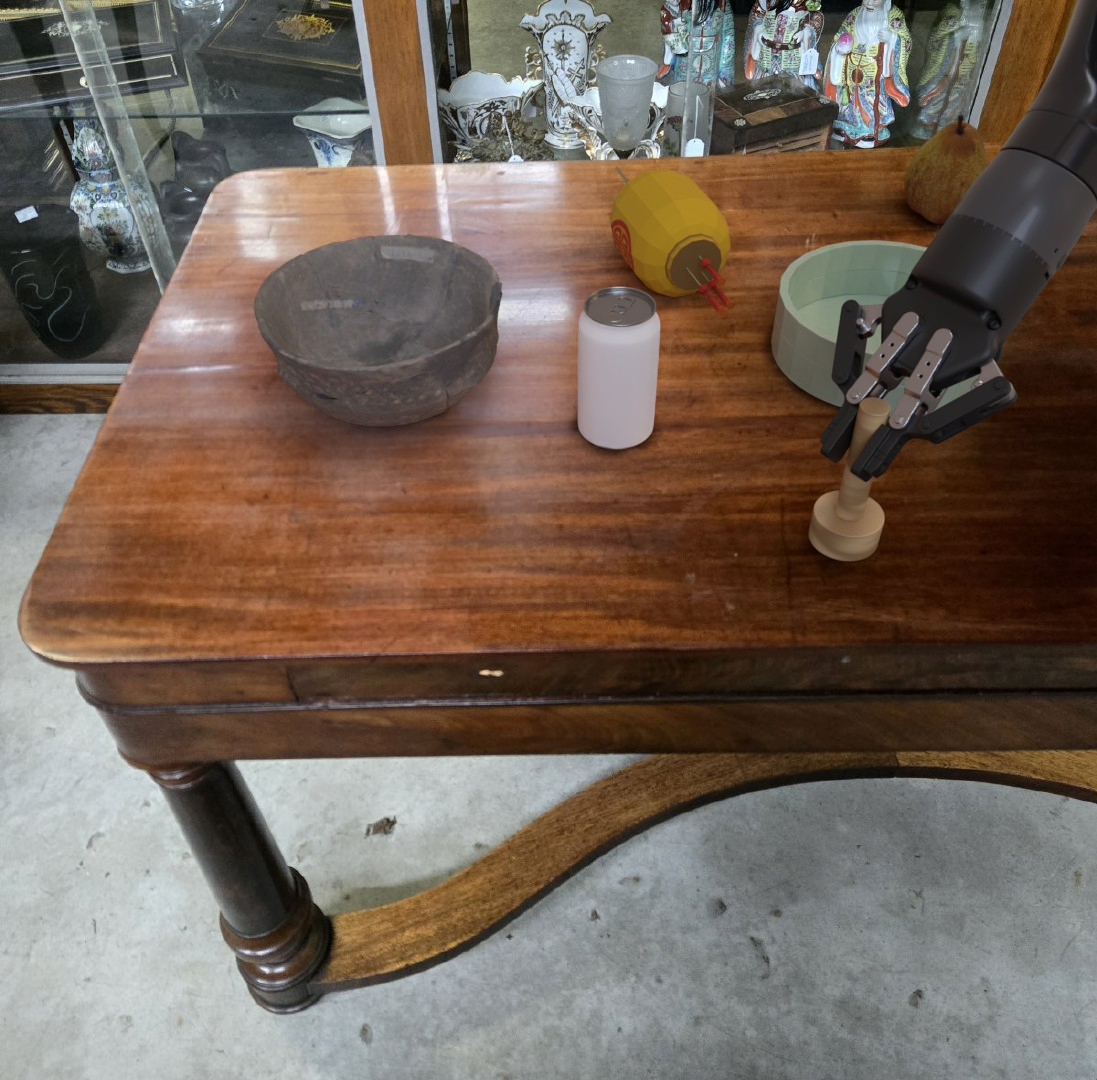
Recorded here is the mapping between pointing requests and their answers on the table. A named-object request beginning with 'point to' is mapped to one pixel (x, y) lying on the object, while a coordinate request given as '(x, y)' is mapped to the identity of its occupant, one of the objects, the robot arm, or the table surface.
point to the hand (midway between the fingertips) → (843, 466)
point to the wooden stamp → (852, 498)
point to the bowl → (382, 326)
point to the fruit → (944, 170)
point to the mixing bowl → (838, 311)
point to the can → (617, 367)
